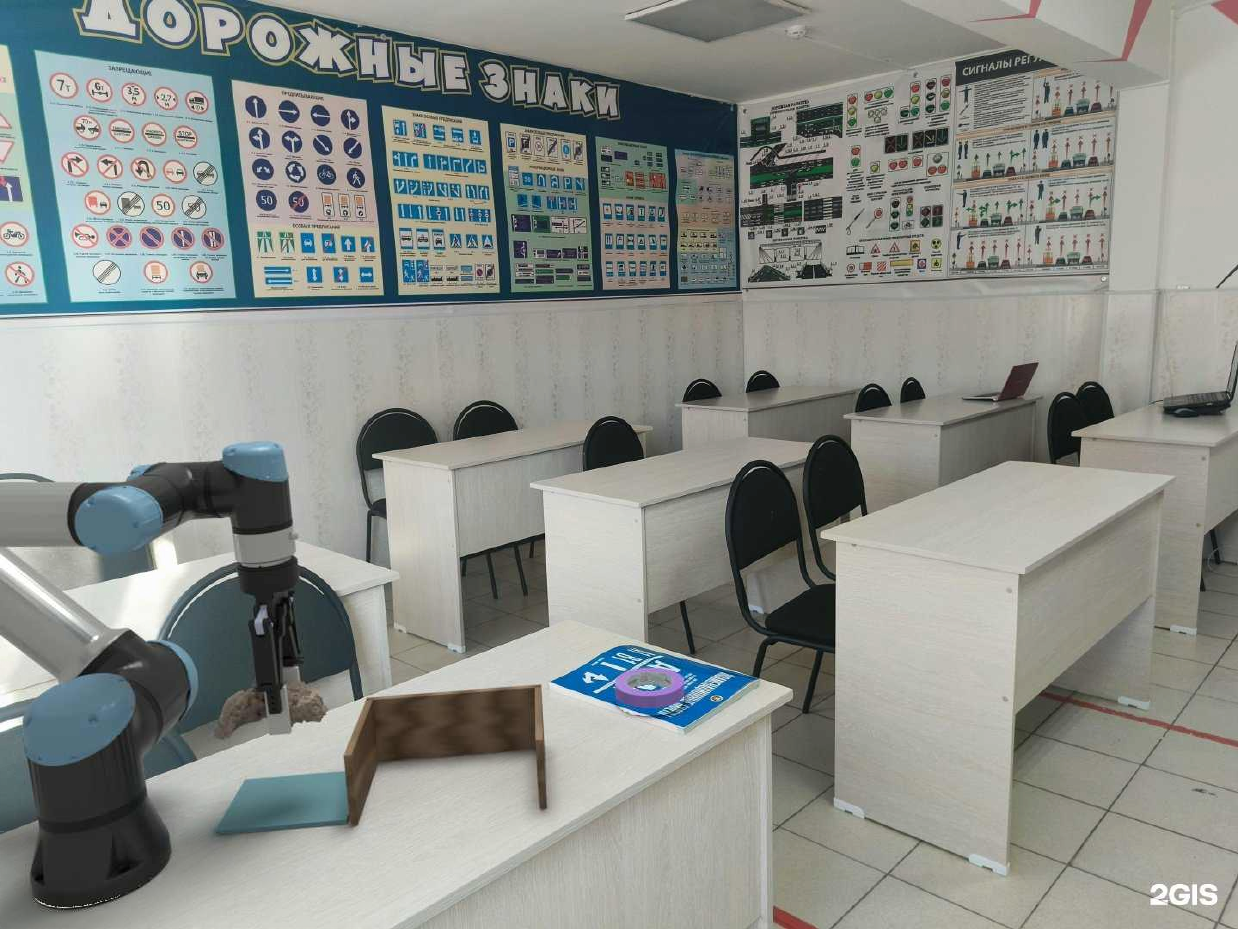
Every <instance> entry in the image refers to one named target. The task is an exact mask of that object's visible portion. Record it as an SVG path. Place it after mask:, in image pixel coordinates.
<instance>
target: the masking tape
mask: <svg viewBox="0 0 1238 929" xmlns="http://www.w3.org/2000/svg"><path fill="white" fill-rule="evenodd" d="M644 685H655V686H661V687H666V688H664V689H660V690H655V691H642V690H637V689H633V687H638V686H644ZM614 691H615V693H614V694H615V695H614V696H616V698H615V700H616V699H618V700H619V701H620V702H622V703H624V704H625V705H631V706H634V707H641V708H660V707H665V706H668V705H673V704H675V703H677V702H679V701H680V700H681V699H682V698H683V697H684V698H685V680H684V677H683V676H682V675H681V674H679V672H676V671H674V670H671V669H667V668H661V667H641V668H636V669H630V670H628V671H625V672H622V673H621V674H620V675H618V676H617V677H616V679H615V681H614Z"/></svg>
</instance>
